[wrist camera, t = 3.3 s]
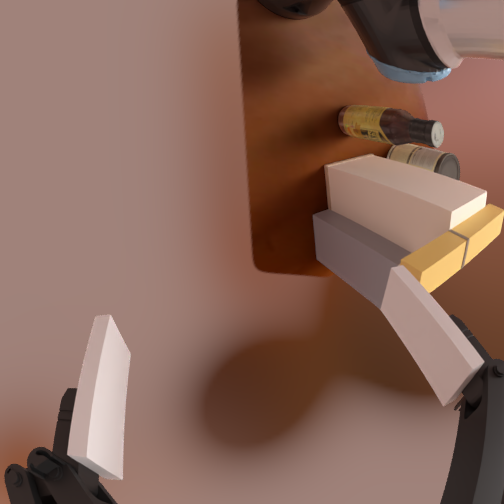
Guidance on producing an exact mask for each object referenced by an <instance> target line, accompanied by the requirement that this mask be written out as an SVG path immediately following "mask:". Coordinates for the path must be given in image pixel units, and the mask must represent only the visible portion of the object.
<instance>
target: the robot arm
mask: <svg viewBox="0 0 504 504" xmlns="http://www.w3.org/2000/svg"><path fill="white" fill-rule="evenodd" d="M258 1H259V2H260V3H261V4H262V5H264V6H265V7H266V8H267V9H269V10H270V11H272V12H274V13H276V14H278V15H280V16H283V17H286V18H291V19H305V18H309V17H312V16H314V15H317V14H319V13H321V12H322V11H323V10H325V9H326V8H327V6H328V5H329V4H330V3H331V2H332V1H333V0H258ZM338 2H339V3H340V5H341V6H342V8H343V10H344V11H345V13H346V14H347V16H348V18H349V19H350V21H351V23H352V24H353V26H354V28H355V29H356V31H357V33H358V35H359V36H360V38H361V40H362V42H363V44H364V46H365V47H366V51H367V54H368V55H369V56H370V58H371V59H372V60H373V61H374V63H375V65H376V67H377V69H378V70H379V71H380V73H381V74H382V75H384V76H385V77H387V78H389V79H391V80H394V81H397V82H403V83H425V82H426V81H432V82H433V81H437V80H440V79H443V78H445V77H446V76H447V75H449V73H450V72H451V68H457V67H458V66H459V65H460V63H461V62H462V60H463V59H464V58H484V59H495V60H504V0H338ZM380 309H381V311H382V312H383V314H384V315H385V317H386V318H387V320H388V321H389V322H390V324H391V325H392V326H393V328H394V330H395V331H396V333H397V334H398V336H399V337H400V338H401V340H402V342H403V343H404V345H405V346H406V347H407V349H408V351H409V352H410V354H411V355H412V357H413V358H414V360H415V361H416V363H417V364H418V366H419V368H420V369H421V371H422V372H423V374H424V375H425V377H426V378H427V380H428V382H429V383H430V385H431V387H432V388H433V390H434V392H435V393H436V395H437V397H438V398H439V400H440V402H441V403H442V405H443V406H445V405H447V404H448V403H450V402H452V401H454V400H455V399H456V398H457V397H458V396H459V395H460V393H461V392H462V393H463V395H464V396H463V398H462V399H461V400H460V401H459V402H458V403H457V405H456V406H455V409H454V410H457V409H458V407H459V406H460V405H461V408H460V409H459V411H460V417H459V425H458V431H457V437H456V443H455V448H454V453H453V458H452V462H451V467H450V471H449V475H448V479H447V482H446V486H445V490H444V493H443V496H442V500H441V503H440V504H504V361H502V360H500V359H494V360H493V359H492V358H491V357H490V356H489V354H488V353H487V352H486V350H485V349H484V348H483V347H482V345H481V344H480V343H479V342H478V340H477V339H476V338H475V337H474V336H473V334H472V333H471V332H470V330H468V328H467V327H466V326H465V324H464V323H463V322H462V321H461V320H460V319H459V318H457V317H455V316H454V315H450V316H448V315H447V314H446V312H445V311H444V310H443V309H442V308H441V307H440V305H439V304H438V303H437V302H436V301H435V300H434V298H433V297H432V296H431V295H430V294H429V293H428V292H427V290H426V289H425V288H424V287H423V286H422V285H421V284H420V283H419V282H418V280H417V279H416V278H415V277H414V276H413V275H412V274H411V273H410V272H409V271H408V270H407V269H406V268H405V267H404V265H401V266H397V267H392V268H391V270H390V274H389V279H388V282H387V286H386V290H385V294H384V298H383V301H382V305H381V308H380ZM130 356H131V354H130V352H129V350H128V348H127V346H126V344H125V342H124V340H123V339H122V337H121V335H120V333H119V331H118V329H117V327H116V325H115V323H114V321H113V319H112V316H111V315H101V316H96V317H95V320H94V324H93V327H92V331H91V335H90V338H89V342H88V345H87V349H86V353H85V357H84V361H83V366H82V370H81V375H80V379H79V384H78V388H77V389H76V388H68V389H67V391H66V392H65V394H64V396H63V397H62V400H61V404H60V412H59V414H58V421H57V426H56V431H55V437H54V444H53V451H52V452H51V451H50V450H48V449H46V448H44V447H38V448H35V449H33V451H31V453H30V454H29V456H28V459H27V466H28V468H26V469H25V468H23V467H22V466H20V465H18V464H11V465H10V466H8V468H7V469H6V471H5V484H6V487H7V491H8V495H9V499H10V502H11V504H117V503H116V501H115V500H114V499H113V498H112V496H111V495H110V494H109V493H108V492H107V490H106V489H105V488H104V486H103V485H102V484H101V483H100V482H99V479H98V478H99V475H100V476H102V477H103V478H105V479H114V480H123V441H124V420H125V406H126V393H127V383H128V373H129V364H130Z"/></svg>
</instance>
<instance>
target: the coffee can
mask: <svg viewBox="0 0 504 504" xmlns="http://www.w3.org/2000/svg"><path fill="white" fill-rule="evenodd" d="M386 159H390V160H394V161H397V162H401V163H405V164H408V165H412V166H415V167H418V168H422V169H425V170H428V171H431V172H434V173H438V174H441V175H444V176H447V177H450V178H452V179H455V180H458V181H459V178H460V166H459V161H458V159H457V157H456V156H455V155H454V154H452V153H446V152H442V151H438V150H434V149H430V148H426V147H421V146H417V145H412V144H408V143H407V144H403V145H398V146H396V145H393V146H392V147H391V149H390V150H389V152H388V155H387V158H386Z"/></svg>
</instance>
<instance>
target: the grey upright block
mask: <svg viewBox="0 0 504 504" xmlns="http://www.w3.org/2000/svg"><path fill="white" fill-rule="evenodd" d="M313 225H314V235H315V247H316V259H317V260H318V261H319V262H321V263H322V264H323V265H325V266H326V267H327V268H329V269H330V270H331V271H332V272H334V273H335V274H336V275H338V276H339V277H340V278H341V279H343V280H344V281H345V282H347V283H348V284H349V285H351V286H352V287H353V288H354V289H356V290H357V291H358V292H359V293H361V294H362V295H363V296H365V297H366V298H367V299H368V300H370V301H371V302H372V303H373V304H374V305H376V306H377V307H378V308H379V309H380V308H381V305H382V301H383V298H384V294H385V290H386V286H387V282H388V279H389V274H390V270H391V268H392V267H397V266H400V263H401V259H403V258H404V257H406V256H408V255H409V254H411V252H409V251H407V250H406V249H404V248H402V247H400V246H399V245H397V244H395V243H393V242H391V241H390V240H388V239H386V238H384V237H382V236H380V235H379V234H377V233H375V232H373V231H371V230H369V229H367V228H365V227H364V226H362V225H360V224H358V223H356V222H354V221H352V220H350V219H348V218H346V217H344V216H342V215H340V214H338V213H336V212H334V211H332V210H329V209H327V210H324V211H322V212H319V213H316V214H313Z"/></svg>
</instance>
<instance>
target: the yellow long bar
mask: <svg viewBox="0 0 504 504" xmlns="http://www.w3.org/2000/svg"><path fill="white" fill-rule="evenodd" d="M503 216H504V210H503V209H501V208H499V207H496V206H494V205H492V204H489V205H487V206H485V207H484V208H483V209H481V210H480V211H478V212H477V213H475V214H474V215H472V216H471V217H469V218H468V219H466V220H465V221H463V222H461V223H460V224H458V225H457V226H455V227H454V228H452V229H450V230H448V231H447V232H446V233H444V234H443V235H441V236H439V237H438V238H436V239H434V240H433V241H431V242H430V243H428V244H426V245H425V246H423V247H421V248H420V249H418V250H416V251H415V252H413V253H411V254H409V255H408V256H406V257H404V258H403V259H401V263H400V266H401V265H404V267H405V268H406V269H407V270H408V271H409V272H410V273H411V274H412V275H413V276H414V277H415V278H416V279H417V280H418V282H419V283H420V284H421V285H422V286H423V287H424V288H425V289H426V290H427V292H428V293H430V292H432V291H433V290H434V289H436V288H437V287H438V286H440V285H441V284H442V283H443V282H445V281H446V280H447V279H448V278H450V277H451V276H452V275H453V274H455V273H456V272H457V271H458V270H459V269H462V268H463V267H464V265H465V264H467V263H468V262H469V261H470V260H471V259H472V258H474V257H475V256H476V255H477V254H478V253H479V252H480V251H482V250H483V249H484V248H485V247H486V246H487V245H488V244H489V243H490V242H491V241H492V240H493V239H495V238H496V237H497V236H498V235H499V234H500V231H501V226H502V221H503Z"/></svg>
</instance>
